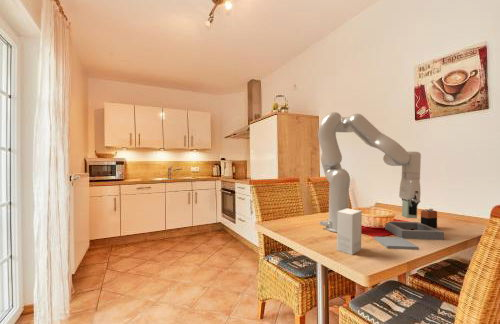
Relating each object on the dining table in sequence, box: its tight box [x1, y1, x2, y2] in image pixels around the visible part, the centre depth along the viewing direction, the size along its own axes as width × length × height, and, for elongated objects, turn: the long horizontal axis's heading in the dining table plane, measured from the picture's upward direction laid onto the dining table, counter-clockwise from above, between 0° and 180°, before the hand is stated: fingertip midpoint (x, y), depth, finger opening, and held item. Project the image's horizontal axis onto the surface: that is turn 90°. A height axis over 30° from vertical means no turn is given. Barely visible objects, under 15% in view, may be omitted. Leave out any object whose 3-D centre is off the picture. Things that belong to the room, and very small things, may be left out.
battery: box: [420, 208, 438, 229], centre depth 126 cm, size 4×7×10 cm, turn 108°
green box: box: [401, 199, 418, 219], centre depth 115 cm, size 4×4×8 cm
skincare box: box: [336, 208, 363, 256], centre depth 92 cm, size 8×7×16 cm
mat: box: [373, 236, 420, 250], centre depth 100 cm, size 12×12×1 cm
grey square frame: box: [384, 220, 445, 241], centre depth 115 cm, size 18×18×4 cm
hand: (409, 213), depth 115 cm, fingers closed on green box, 4 cm apart
